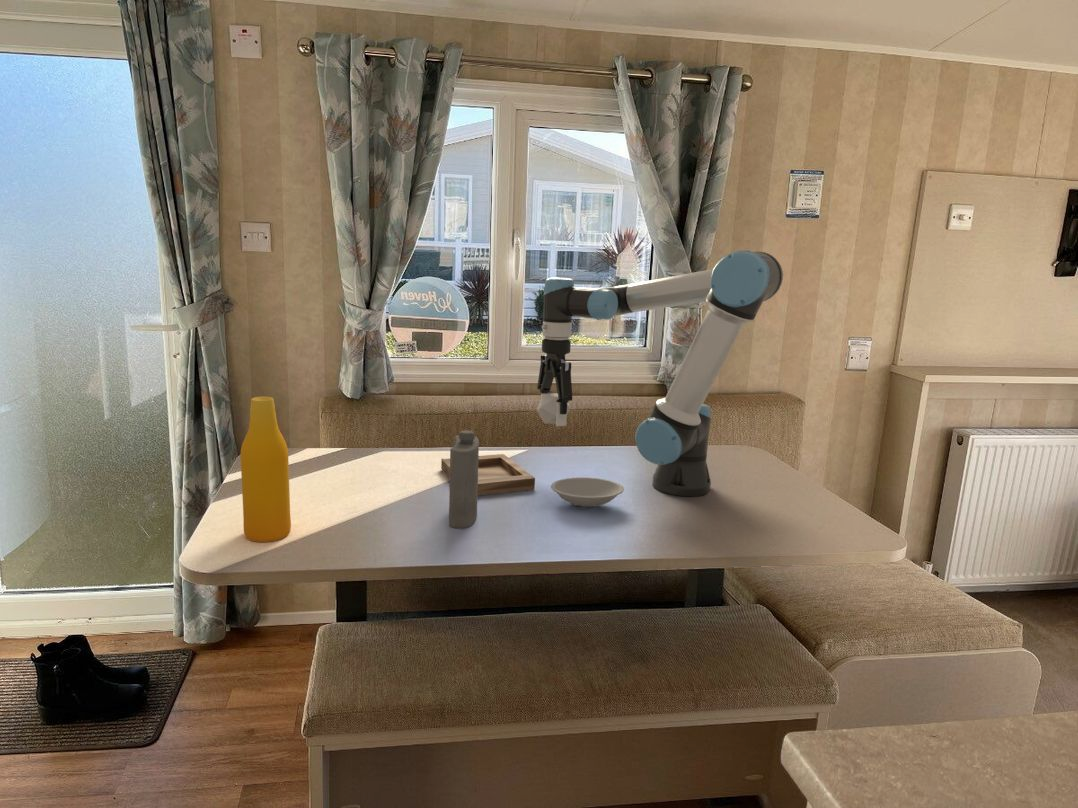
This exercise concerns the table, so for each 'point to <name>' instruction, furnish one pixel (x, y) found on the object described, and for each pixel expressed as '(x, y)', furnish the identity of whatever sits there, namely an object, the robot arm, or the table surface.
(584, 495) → the dish
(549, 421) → the die
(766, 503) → the table surface
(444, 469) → the tray
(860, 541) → the table surface
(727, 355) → the robot arm
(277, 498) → the beer bottle
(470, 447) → the flask
